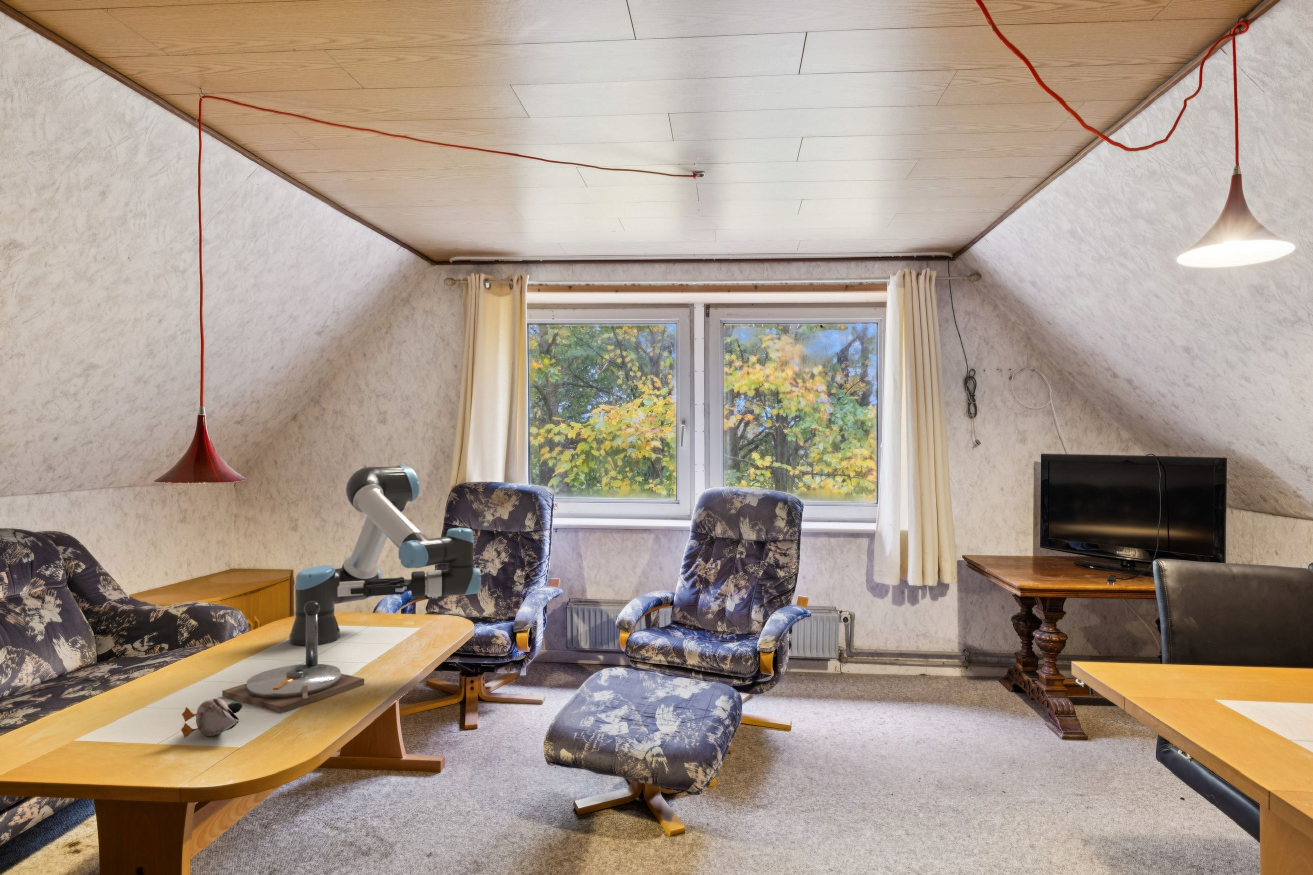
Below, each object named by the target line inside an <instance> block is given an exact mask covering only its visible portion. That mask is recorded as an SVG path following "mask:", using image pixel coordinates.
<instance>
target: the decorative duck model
mask: <svg viewBox="0 0 1313 875" xmlns="http://www.w3.org/2000/svg"><path fill="white" fill-rule="evenodd" d="M242 709H243V705H242V702H239V701H235V702H234V701H233V702H230V703H228V704H227V702H226V701H225V700H223V699H220V698H211V699H207V700H204V701H203V702H202V703H200V705H199V706H198V707H197V710H196V712H195V713H193V712H192V710H191V709H189V707H185V709H184V711H183V712H182V714H181V716H182V718H183V720H184V725H183V727H181V729H180V731H181V733H182V734H183V739H185V738H187V737H188V736H189V735H191V733H193V732H195V731H200V733H201V734H203V735H205V736H208V737H213V736H218V735H219V734H221V733H223V732H226V731H229V730H231V729H233V728H234V727H236V726H237V724H238V723H239V721H238V720H239V718H238V716H237V715H236V714H237V713H239V712H240V711H241V710H242ZM194 717H195V721H196V723H195V724H196V726H197V728H192V727H191V726H190V725H189V724H188V723H186V722H188V721H189V720H191V719H193V718H194Z"/></svg>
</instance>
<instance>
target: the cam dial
mask: <svg viewBox="0 0 1313 875" xmlns="http://www.w3.org/2000/svg"><path fill="white" fill-rule="evenodd" d="M319 610H320V605H319V604H318V603H317V602H316V601H309V602H308V603H306V604H305V606H304V612H305V613H306V645H305V663H303V664H294V665H286V666H281V667H275V668H273V669H268V670H265V671H262V672H260V673H259V672H258V674H254V675H253V676H252V677H249V679H247V682H246V683H247V692H248V693H249V694H251V695H253V696H257V697H263V698H285V697H294V696H301V695H302V685H307V686H308V694H311V693H315V692H319V691H322V690H325V689H327V688H330V687H332V686H334V685H335V684H337V683H338V682H339V681H340V678H341V674H342V673H341V669H340V668H339V667H337V666H335V665H330V664H325V663H319V657H318V656H319V644H318V612H319Z"/></svg>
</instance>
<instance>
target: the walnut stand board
mask: <svg viewBox="0 0 1313 875" xmlns="http://www.w3.org/2000/svg"><path fill="white" fill-rule="evenodd" d="M363 685H365V678H363V677H357V676H354V675H349V674H346V673H345V674H344V673H341V678H340V681H339V682H338V683H337V684H335V685H334V686H332V687H330V688H327V689H325V690H322V691H319V692H315V693H311V694H308V686H307V685H302V695H301V696H294V697H285V698H263V697H257V696H253V695H251V694H249V693H248V692H247V682H246V683H243V684H239V685H237V686H233V687H229V688H227V689H224V690H222V691H221V697H222V696H223V697H222V698H226V697H227V698H226V699H229V698H231V699H230V700H233V699H234V700H233V701H236V700H237V701H236V702H239V703H244V704H248V705H252V706H255V707H259V708H262V709H265V710H269V711H271V712H272V711H273V712H277V713H281V714H283V712H284V713H286V712H289V711H292V710H295V709H298V708H300V706H301V707H303V706H306V705H309V704H312V703H314V702H317V701H321V700H323V699H325V698H330V697H332V696H334V695H337V694H341V693H344V692H346V691H350V690H352V689H355V688H357V687H360V686H363ZM297 707H298V708H297Z"/></svg>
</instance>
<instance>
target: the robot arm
mask: <svg viewBox="0 0 1313 875" xmlns="http://www.w3.org/2000/svg"><path fill="white" fill-rule="evenodd" d="M345 489H346V490H345V493H346V496H347V500H348V502H349V503H350V505H351V506H352V507H353V508H354V509H355V510H356V511H357V512H360V513H364V514H365V515H366V517H365V520H364V523H363V525H362V528H361V531H360V533H359V536H358V537H357V540H356V542H355V545H354V547H353V551H352V554H351V555H350V556H348V557H346V558H345V559H344V561H343V563H342V565H341V567H339V568H335V566H334V565H331V564H330V565H327V564H325V565H317V566H312V567H308V568H306V569H305V568H304V569H302V570H300V571H299V572H298V573H297V575H296V577H295V582H294V583H295V584H294V590H295V591H294V592H295V593H294V594H295V595H294V596H295V597H294V598H295V618H294V621H293V624H292V628H291V631H290V633H289V636H288V637H289V638H288V640H289V644H292V645H294V646H306V613H305V612H304V606H305V604H306V603H308V602H309V601H316V602H317V603H318V604H319V605H320V610H319V612H318V645H323V644H327V643H332V642H335V641H337V640H338V639H340V638H341V630H340V627H339V623H338V621H337V618H336V616H335V605H337V604H344V603H350V602H351V603H352V602H356V601H363V600H366V599H369V598H372V597H378V596H381V597H382V596H395V595H400V596H401V595H404V594H405V592H411V598H412V599H421V598H425V597H427V598H432V597H433V598H434V599H438V597H449V596H450V597H451V596H452V597H453V596H467V595H474V594H475V595H476V594H479V592H480V591H481V588H482V578H481V577H482V576H481V575H482V574H481V573H482V572H481V569H480V568H478V567H474V546H475V545H474V544H475V540H474V531H473V529H471V528H469V527H468V528H467V527H455V528H449V529H448V530H447V531H446V536H443V537H440V536H439V537H434V538H432V537H431V538H427V536H426V535H425V534H424V533H423V532H422V531H421V530H420V529H419V528H418V527H416V525H415V524H413V522H411V520H410V519H409V518H408V517H407V516H405V515H404V514H403V513H402V512H403V511H404V510H405V509H406V506H407V503H408V502H410V503H412V502H413V501H416V500H417V499H418V497H419V495H420V480H419V477H418V474H417V472H416V471H415V470H414V469H413V468H412V467H410V466H407V465H403V466H401V465H396V466H366V467H363V468H360V469H358V470H357V471H355V472H354V473H352V475H351V476H350V477H349V479H348V481H347V483H346V488H345ZM387 539H389V540H390V541H391V542H392V543H393V544H394V545H395V547H396V548H398V552H397V553H398V560H400V565H402V567H404V568H406V569H419V568H420V569H421V568H424V567H425V568H426V567H430V566H437V565H443V564H446V568H447V569H435V570H434V569H433V570H427V571H426V572H425V571H424V570H419V571H417V570H416V571H412V572H411V579H407V578H405V577H403V576H399V577H386V578H385V577H384V578H382V573H381V571H380V568H379V565H378V561H379V559H380V557H381V554H382V553H383V552H382V551H383V549H384V546H385V544H386V542H387Z"/></svg>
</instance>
